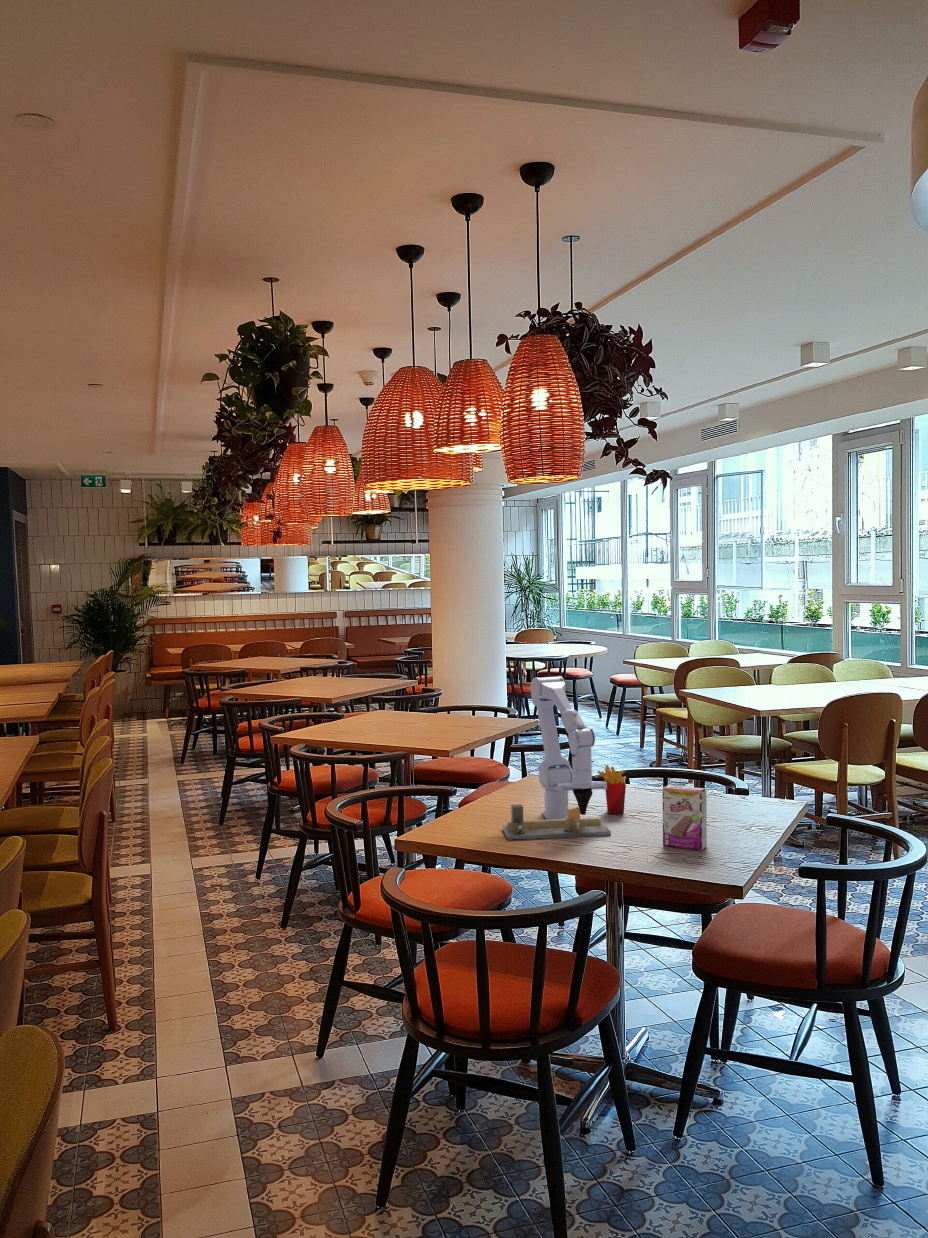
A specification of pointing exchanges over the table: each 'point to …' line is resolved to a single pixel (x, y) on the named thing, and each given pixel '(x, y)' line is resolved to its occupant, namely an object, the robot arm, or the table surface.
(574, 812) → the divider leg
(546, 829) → the bolt plate
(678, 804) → the candy bar box
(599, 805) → the table surface
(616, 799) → the french fries
